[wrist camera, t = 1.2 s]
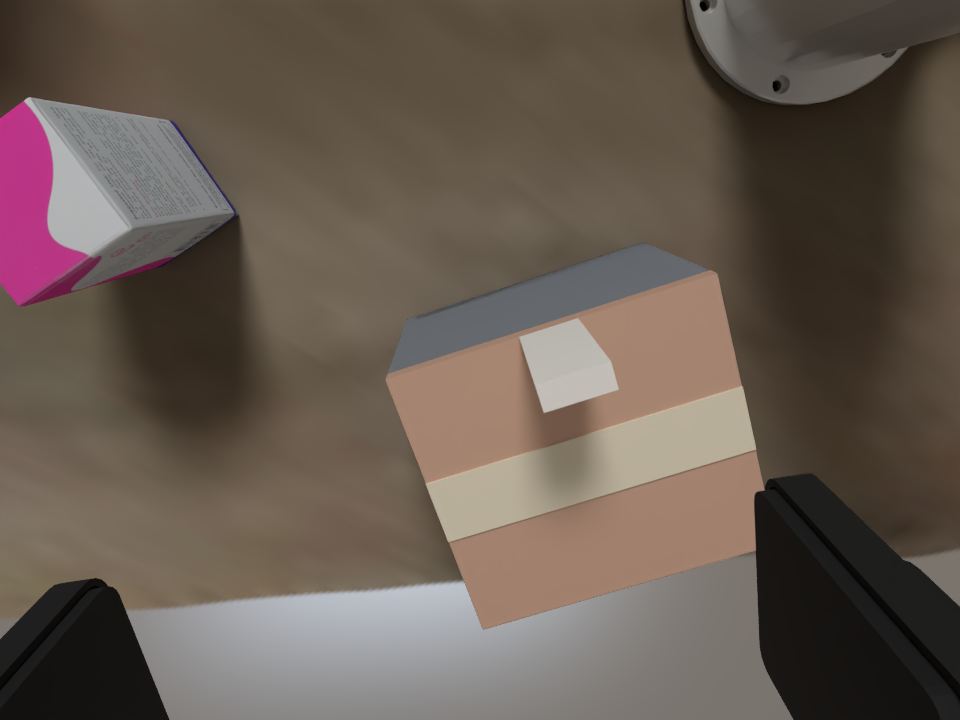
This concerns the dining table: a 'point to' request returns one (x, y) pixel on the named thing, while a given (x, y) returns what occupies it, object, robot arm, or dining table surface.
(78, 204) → the supplement box
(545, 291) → the carton
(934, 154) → the dining table surface
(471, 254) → the dining table surface
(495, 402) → the lid
